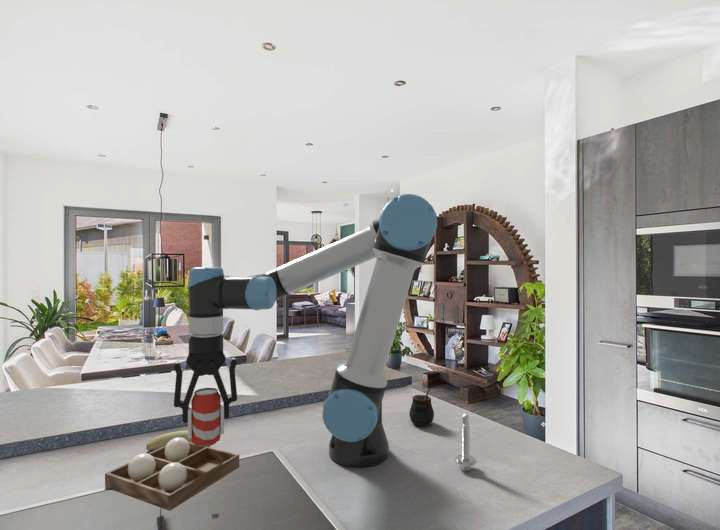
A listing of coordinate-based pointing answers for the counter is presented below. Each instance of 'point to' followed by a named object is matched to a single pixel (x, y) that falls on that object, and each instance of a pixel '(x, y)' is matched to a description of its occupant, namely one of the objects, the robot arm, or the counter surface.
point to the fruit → (166, 439)
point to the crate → (201, 473)
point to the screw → (465, 447)
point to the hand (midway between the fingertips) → (206, 433)
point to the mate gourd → (421, 410)
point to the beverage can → (206, 417)
